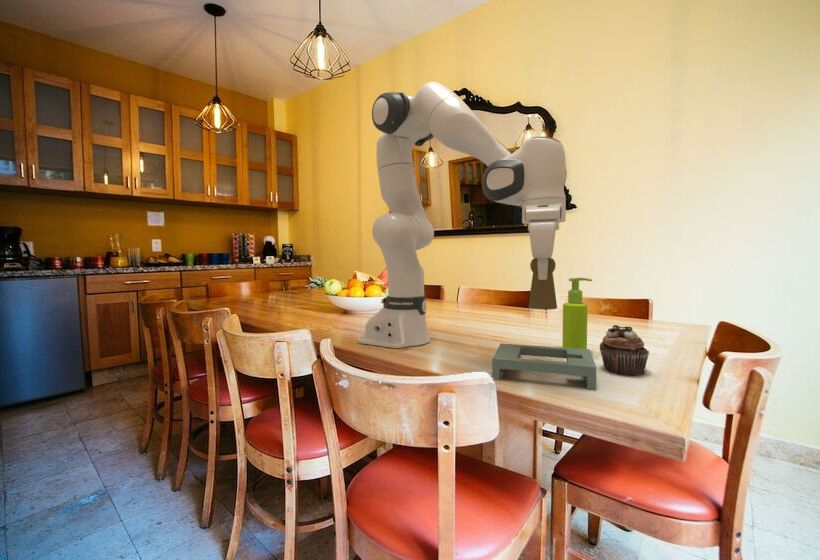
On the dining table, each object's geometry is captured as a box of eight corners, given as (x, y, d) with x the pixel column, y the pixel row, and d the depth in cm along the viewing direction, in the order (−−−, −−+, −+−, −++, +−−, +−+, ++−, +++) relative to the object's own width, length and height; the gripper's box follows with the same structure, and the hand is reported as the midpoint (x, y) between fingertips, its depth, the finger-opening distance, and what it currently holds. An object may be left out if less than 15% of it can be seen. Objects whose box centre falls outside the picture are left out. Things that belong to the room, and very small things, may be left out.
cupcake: (650, 380, 78) (651, 332, 77) (598, 373, 83) (599, 328, 82) (647, 367, 86) (648, 324, 85) (600, 362, 91) (600, 321, 90)
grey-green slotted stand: (492, 379, 80) (492, 358, 80) (500, 361, 93) (500, 343, 93) (596, 389, 73) (596, 367, 73) (589, 368, 86) (589, 349, 86)
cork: (559, 309, 78) (560, 257, 78) (529, 309, 80) (529, 257, 79) (554, 305, 84) (555, 256, 83) (526, 305, 86) (526, 257, 85)
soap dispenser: (594, 356, 96) (596, 278, 94) (567, 356, 96) (568, 278, 94) (584, 350, 102) (585, 276, 100) (559, 350, 102) (559, 277, 100)
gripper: (530, 219, 91) (530, 275, 92) (524, 210, 72) (524, 282, 73) (558, 217, 89) (557, 275, 90) (560, 208, 70) (559, 282, 71)
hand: (543, 278), depth 81 cm, fingers closed on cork, 4 cm apart
